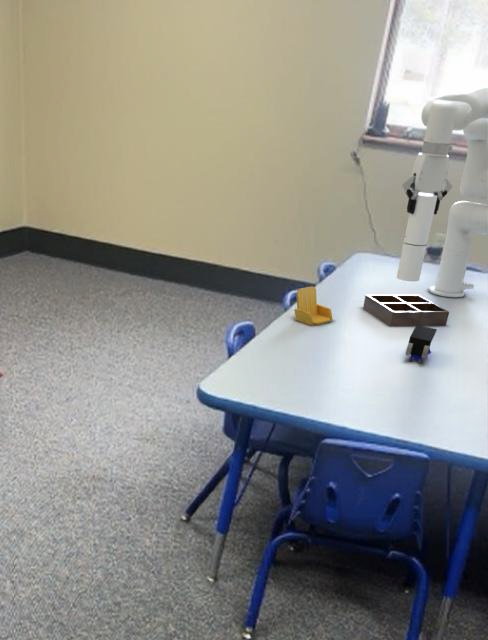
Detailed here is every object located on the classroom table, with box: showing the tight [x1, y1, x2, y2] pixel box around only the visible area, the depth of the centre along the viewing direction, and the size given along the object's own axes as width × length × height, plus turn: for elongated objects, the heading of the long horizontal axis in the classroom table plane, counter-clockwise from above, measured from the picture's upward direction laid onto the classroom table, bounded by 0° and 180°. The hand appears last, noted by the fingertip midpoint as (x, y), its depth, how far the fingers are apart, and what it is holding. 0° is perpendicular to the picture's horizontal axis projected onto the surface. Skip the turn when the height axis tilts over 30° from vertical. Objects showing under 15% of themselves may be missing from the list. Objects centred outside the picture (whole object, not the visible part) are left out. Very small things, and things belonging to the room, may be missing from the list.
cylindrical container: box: [396, 192, 437, 282], centre depth 251 cm, size 7×7×25 cm
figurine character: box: [405, 325, 438, 364], centre depth 230 cm, size 7×8×15 cm
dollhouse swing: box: [294, 286, 334, 327], centre depth 254 cm, size 10×10×9 cm
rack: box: [362, 294, 450, 327], centre depth 266 cm, size 20×20×5 cm
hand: (421, 212), depth 247 cm, fingers closed on cylindrical container, 7 cm apart
